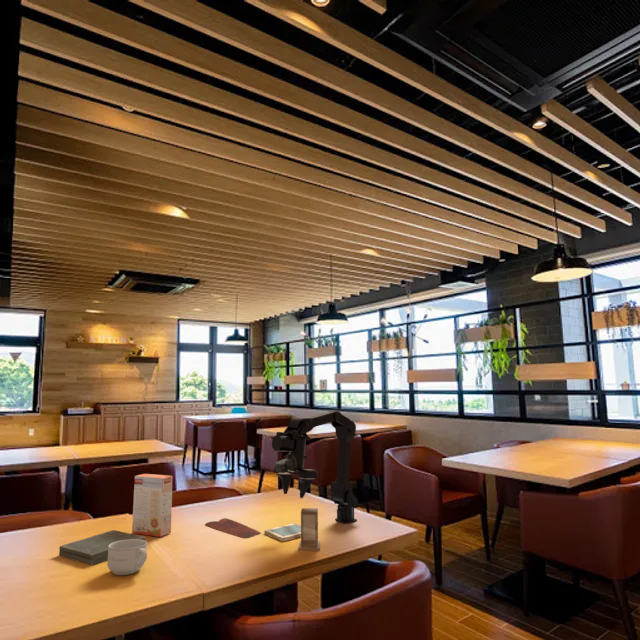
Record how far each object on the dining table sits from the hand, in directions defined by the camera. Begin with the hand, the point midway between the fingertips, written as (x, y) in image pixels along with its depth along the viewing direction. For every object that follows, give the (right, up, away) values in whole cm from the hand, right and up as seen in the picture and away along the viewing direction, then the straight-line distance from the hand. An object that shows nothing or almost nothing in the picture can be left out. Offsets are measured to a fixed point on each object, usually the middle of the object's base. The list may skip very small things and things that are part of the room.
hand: (293, 496), depth 171 cm
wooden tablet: (-24, -16, +8) cm, 30 cm away
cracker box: (-53, -15, +3) cm, 55 cm away
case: (-63, -13, -15) cm, 66 cm away
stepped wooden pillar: (+6, -12, -14) cm, 19 cm away
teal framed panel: (-2, -14, +1) cm, 14 cm away
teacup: (-46, -10, -34) cm, 58 cm away
